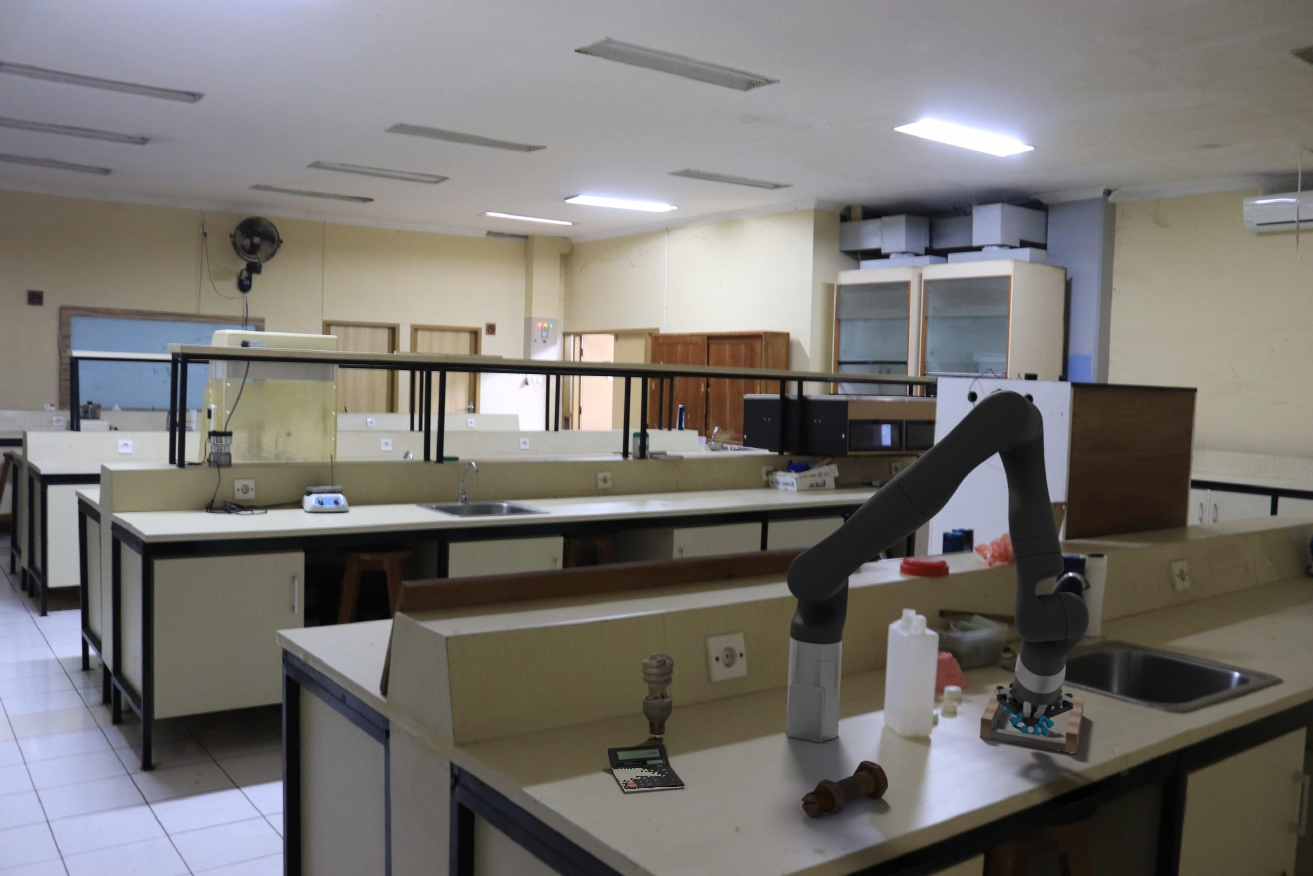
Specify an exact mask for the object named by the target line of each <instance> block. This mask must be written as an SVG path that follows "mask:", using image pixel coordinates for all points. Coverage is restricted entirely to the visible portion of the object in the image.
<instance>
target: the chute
mask: <svg viewBox="0 0 1313 876" xmlns="http://www.w3.org/2000/svg"><path fill="white" fill-rule="evenodd" d="M997 686H1003V687H1004V688H1008V686H1007V685H1003V684H997V685H996V687H997ZM996 691H997V690H996V688H995V689H994V691H993V693H992V695H991V697H990V699H989V701H988V703H987V705H986V707H985V708H984V711H983V713H982V715H981V717H980V726H979V729H980V731H979V732H980V733H979V738H982V739H988V740H993V741H1000V742H1003V743H1004V742H1005V743H1011V744H1016V745H1021V744H1022V745H1021V746H1027V747H1032V746H1033V748H1038V747H1040V748H1039V749H1044V748H1046V749H1045V750H1049V749H1052V750H1051V751H1055V750H1059V751H1058V752H1060V751H1065V752H1064V753H1066V752H1073V753H1076V752H1077V751H1078V747H1079V741H1080V735H1081V730H1080V729H1082V724H1083V723H1082V722H1083V718H1084V717H1083V716H1084V701H1085V698H1084V697H1082V696H1081V697H1080V696H1074V695H1073V709H1072V710H1070V713H1069V718H1068V721H1067V726H1066V730H1065V739H1061V738H1055V737H1049V736H1045V735H1040V736H1038V735H1032V734H1031V733H1022V732H1021V731H1014V730H1008V729H1001V728H996V727H997V725H998V723H999V720H1000V718H1001V716H1002V713H1004V709H1003V708H1004V706H1003V705H1002V704H1001V703H999V702H998V701H997V696H996ZM1077 746H1078V747H1077ZM1076 754H1077V753H1076Z"/></svg>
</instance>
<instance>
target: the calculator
mask: <svg viewBox="0 0 1313 876" xmlns="http://www.w3.org/2000/svg"><path fill="white" fill-rule="evenodd" d="M607 755H608V760H609V764H610V768H611V767H612V768H613V769H619V768H620V769H623V768H624V769H626V768H627V769H629V768H630V769H632V768H634V769H635V768H642V769H643V770H645V769H647V770H648V771H645V772H653V773H652V774H654V773H655V772H658V773H657V774H658V775H659V774H661V776H650V777H648V776H636V778H638V777H641V778H640V779H633V778H631V779H630V780H632V779H633V780H632V781H629V780H628V781H626V780H624V781H623V782H625V781H626V783H622V784H625V786H624V785H623V786H624V788H625V789H636V788H638V789H639V788H653V787H654V788H655V787H678V786H679V787H680V786H681V787H682V786H685V782H684V781H683V780H682V778H680V776H679V775H678V773H677V772H676V771H675V770H674V769H673V768H672V766H671V764H670V761H669V757H668V754H667V750H666V747H665V744H654V745H651V744H649V745H636V746H623V747H622V746H621V747H608V748H607ZM651 770H653V771H651ZM641 772H643V771H642V770H641ZM663 775H665V776H663ZM643 778H645V779H643ZM627 785H629V786H627ZM626 787H627V788H626ZM685 787H686V786H685Z"/></svg>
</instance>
